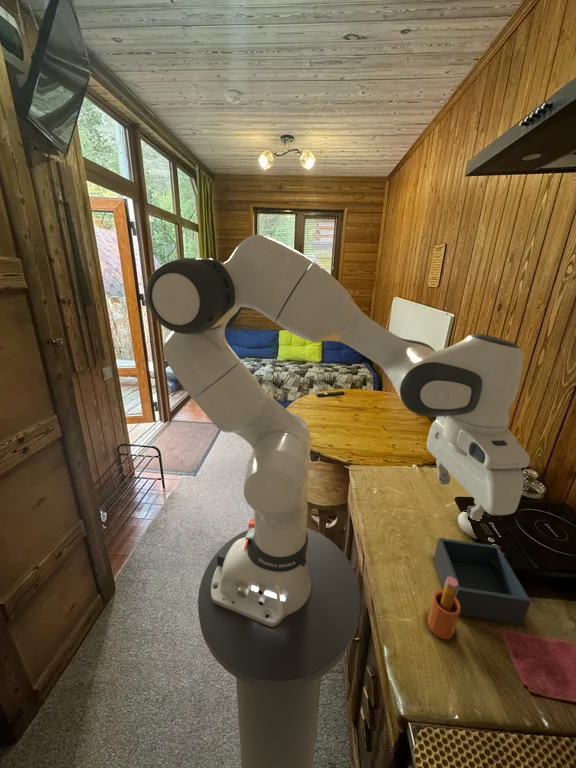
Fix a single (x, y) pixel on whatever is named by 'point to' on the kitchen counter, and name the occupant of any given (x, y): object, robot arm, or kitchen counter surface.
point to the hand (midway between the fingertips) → (456, 498)
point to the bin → (482, 580)
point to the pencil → (449, 594)
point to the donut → (466, 524)
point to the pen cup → (443, 617)
